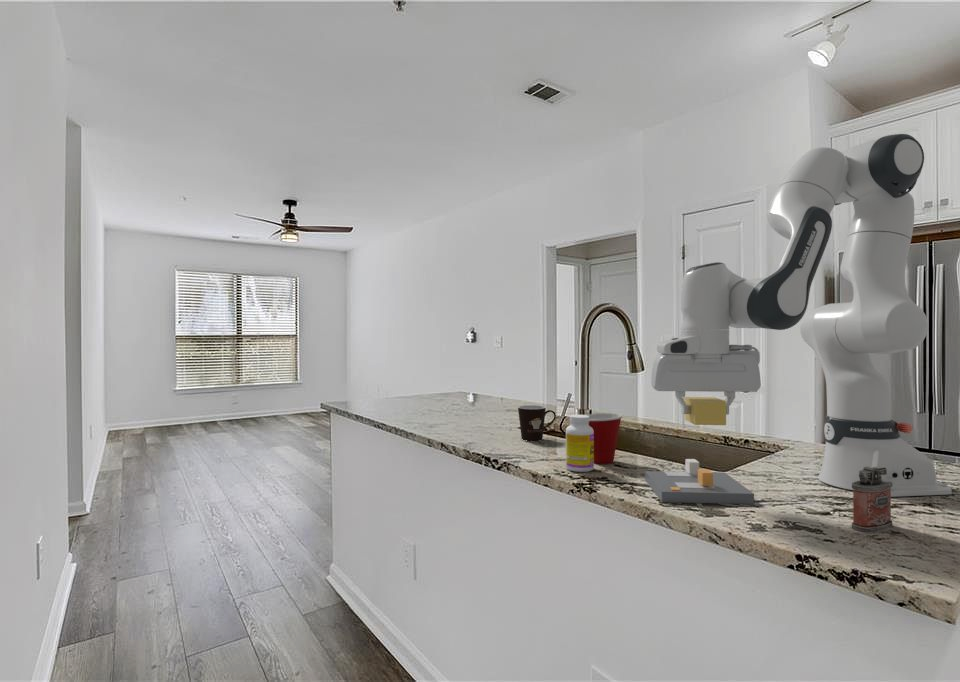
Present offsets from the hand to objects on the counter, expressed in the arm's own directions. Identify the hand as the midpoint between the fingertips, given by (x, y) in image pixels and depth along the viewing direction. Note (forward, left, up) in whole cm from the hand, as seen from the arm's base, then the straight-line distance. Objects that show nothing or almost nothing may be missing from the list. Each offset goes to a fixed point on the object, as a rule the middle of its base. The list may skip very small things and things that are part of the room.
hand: (704, 414), depth 103 cm
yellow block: (0, 0, -2) cm, 2 cm away
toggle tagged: (0, 0, -14) cm, 14 cm away
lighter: (-22, +15, -17) cm, 31 cm away
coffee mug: (+33, -54, -17) cm, 65 cm away
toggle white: (0, -9, -14) cm, 16 cm away
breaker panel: (+1, -3, -16) cm, 17 cm away
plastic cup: (+17, -27, -17) cm, 36 cm away
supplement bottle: (+23, -19, -17) cm, 34 cm away
